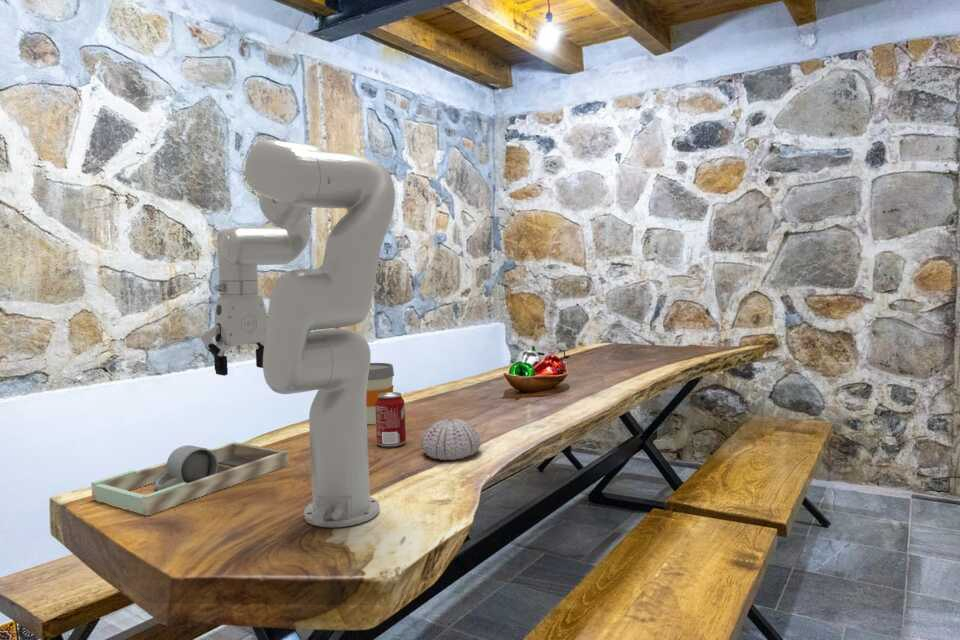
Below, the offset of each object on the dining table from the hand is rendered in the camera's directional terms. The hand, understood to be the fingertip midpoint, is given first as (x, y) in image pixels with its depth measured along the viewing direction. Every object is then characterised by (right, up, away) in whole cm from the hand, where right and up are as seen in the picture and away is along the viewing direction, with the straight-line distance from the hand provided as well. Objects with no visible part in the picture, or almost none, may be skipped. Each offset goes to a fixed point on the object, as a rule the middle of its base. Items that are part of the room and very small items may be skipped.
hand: (242, 371), depth 137 cm
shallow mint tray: (-13, -23, -16) cm, 31 cm away
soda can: (+29, -19, +18) cm, 39 cm away
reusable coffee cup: (+20, -17, +42) cm, 50 cm away
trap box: (-7, -22, -6) cm, 23 cm away
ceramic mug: (-8, -22, -8) cm, 25 cm away
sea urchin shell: (+43, -20, +9) cm, 48 cm away
